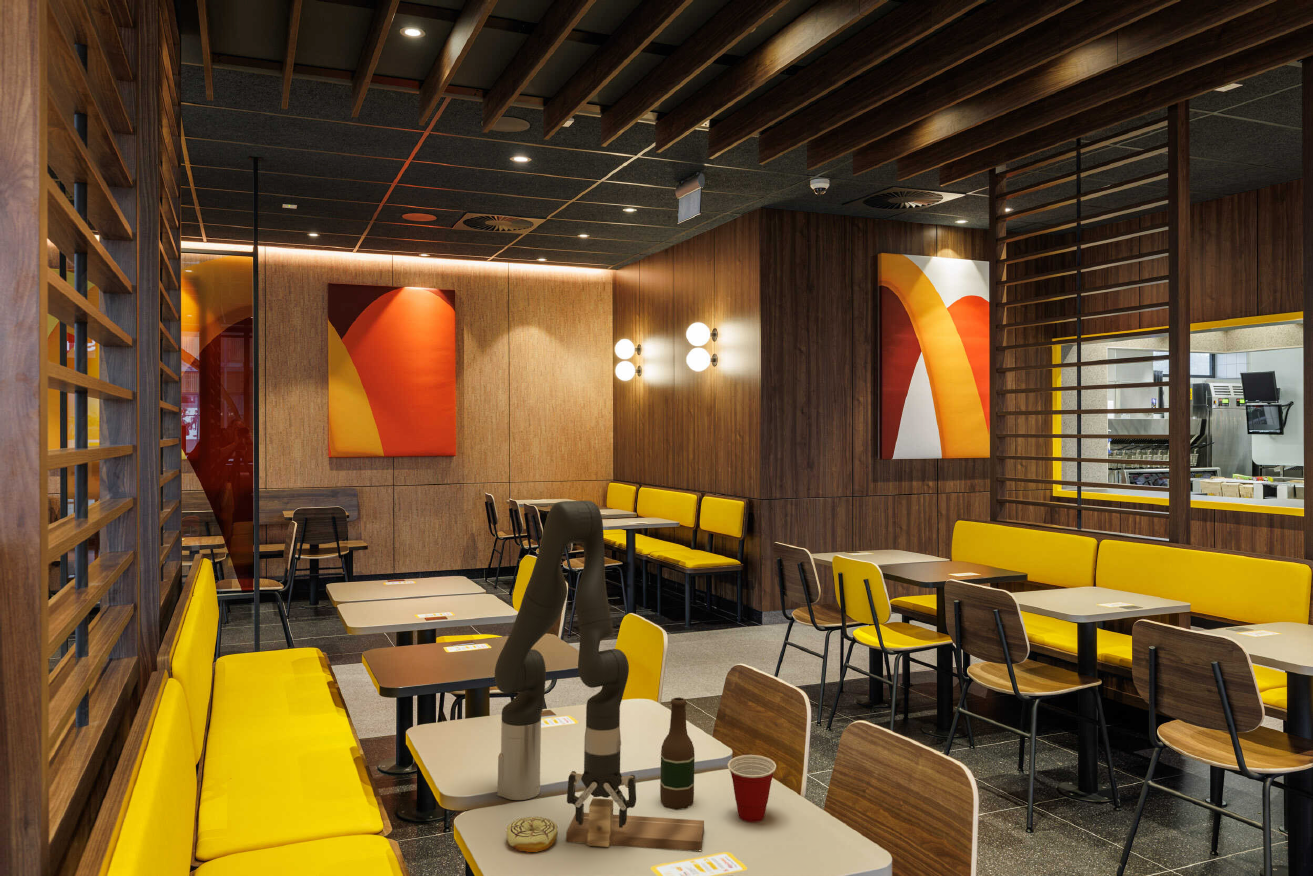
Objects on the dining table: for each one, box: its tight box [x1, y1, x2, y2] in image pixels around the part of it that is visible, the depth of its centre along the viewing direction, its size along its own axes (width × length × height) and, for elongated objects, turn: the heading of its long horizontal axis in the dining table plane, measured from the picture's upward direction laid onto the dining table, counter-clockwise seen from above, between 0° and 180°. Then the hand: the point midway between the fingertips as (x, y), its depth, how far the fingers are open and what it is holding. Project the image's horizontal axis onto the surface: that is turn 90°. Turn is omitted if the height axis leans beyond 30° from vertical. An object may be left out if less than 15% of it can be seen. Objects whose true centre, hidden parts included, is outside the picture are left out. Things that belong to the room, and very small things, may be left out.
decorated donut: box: [505, 816, 559, 853], centre depth 184 cm, size 10×11×4 cm
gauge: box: [586, 797, 614, 848], centre depth 186 cm, size 4×10×8 cm, turn 174°
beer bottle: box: [659, 697, 695, 810], centre depth 205 cm, size 8×8×24 cm
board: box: [565, 812, 705, 851], centre depth 187 cm, size 28×10×2 cm, turn 84°
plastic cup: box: [727, 754, 777, 823], centre depth 198 cm, size 11×11×12 cm
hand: (601, 824), depth 185 cm, fingers open, 8 cm apart
